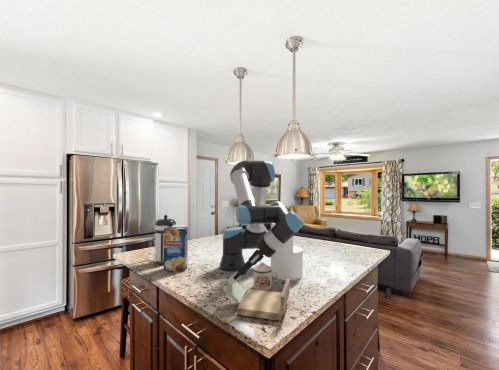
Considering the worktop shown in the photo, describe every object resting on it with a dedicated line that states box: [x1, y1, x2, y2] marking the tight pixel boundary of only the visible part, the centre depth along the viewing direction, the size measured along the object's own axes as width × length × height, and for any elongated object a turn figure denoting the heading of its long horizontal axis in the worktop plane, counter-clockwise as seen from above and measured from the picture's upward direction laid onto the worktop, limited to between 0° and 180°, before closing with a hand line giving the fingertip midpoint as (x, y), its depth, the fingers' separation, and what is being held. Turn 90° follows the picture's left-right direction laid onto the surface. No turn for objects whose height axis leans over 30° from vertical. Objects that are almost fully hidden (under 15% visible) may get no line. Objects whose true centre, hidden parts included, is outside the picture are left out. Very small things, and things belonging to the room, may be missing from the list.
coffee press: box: [152, 214, 177, 266], centre depth 159 cm, size 17×16×30 cm
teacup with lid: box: [252, 261, 278, 291], centre depth 118 cm, size 12×9×12 cm
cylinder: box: [270, 223, 304, 281], centre depth 137 cm, size 17×17×28 cm
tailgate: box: [221, 281, 247, 304], centre depth 101 cm, size 2×11×8 cm
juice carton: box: [162, 226, 189, 272], centre depth 144 cm, size 12×8×24 cm, turn 92°
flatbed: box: [236, 279, 290, 322], centre depth 97 cm, size 17×18×9 cm
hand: (229, 282), depth 101 cm, fingers closed
